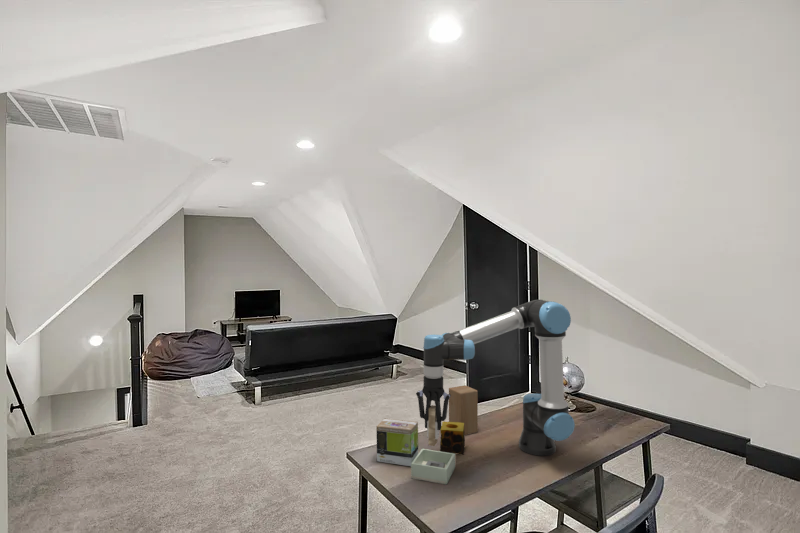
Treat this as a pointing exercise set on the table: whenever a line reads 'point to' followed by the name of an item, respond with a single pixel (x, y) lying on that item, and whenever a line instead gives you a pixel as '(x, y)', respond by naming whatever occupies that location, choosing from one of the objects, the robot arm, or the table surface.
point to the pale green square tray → (433, 466)
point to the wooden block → (464, 407)
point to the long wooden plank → (432, 425)
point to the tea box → (397, 441)
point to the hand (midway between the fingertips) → (433, 437)
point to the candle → (452, 437)
